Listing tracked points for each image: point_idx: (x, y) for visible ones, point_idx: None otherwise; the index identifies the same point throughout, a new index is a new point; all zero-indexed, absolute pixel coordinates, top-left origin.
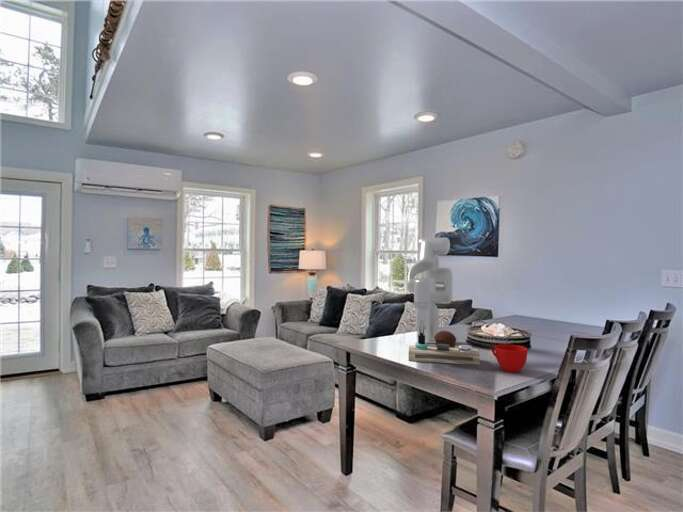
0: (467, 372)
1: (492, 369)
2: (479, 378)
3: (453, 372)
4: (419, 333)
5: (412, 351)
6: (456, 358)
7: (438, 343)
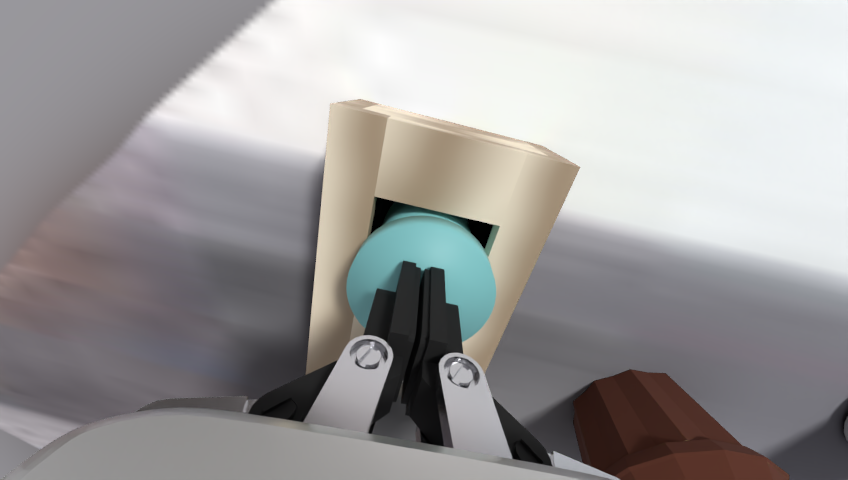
0: (160, 375)
1: None
2: (75, 388)
3: (131, 320)
4: (334, 374)
5: (330, 149)
6: None
7: (644, 425)
